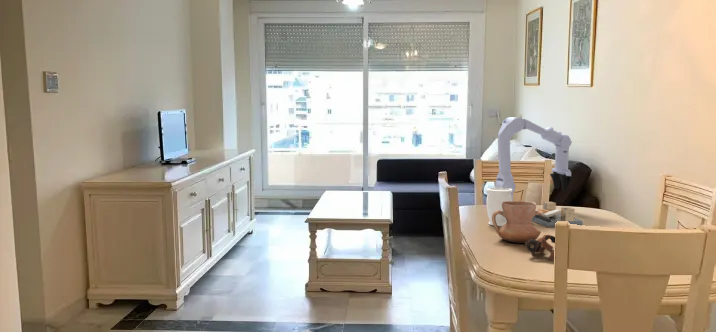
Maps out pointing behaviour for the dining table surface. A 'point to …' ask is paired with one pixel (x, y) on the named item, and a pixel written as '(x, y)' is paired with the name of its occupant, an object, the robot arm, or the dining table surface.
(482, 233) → the dining table surface
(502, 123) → the robot arm
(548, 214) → the paddle white
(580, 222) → the panel
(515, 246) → the dining table surface
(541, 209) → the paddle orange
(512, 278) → the dining table surface
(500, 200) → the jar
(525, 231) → the ceramic jug
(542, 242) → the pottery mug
